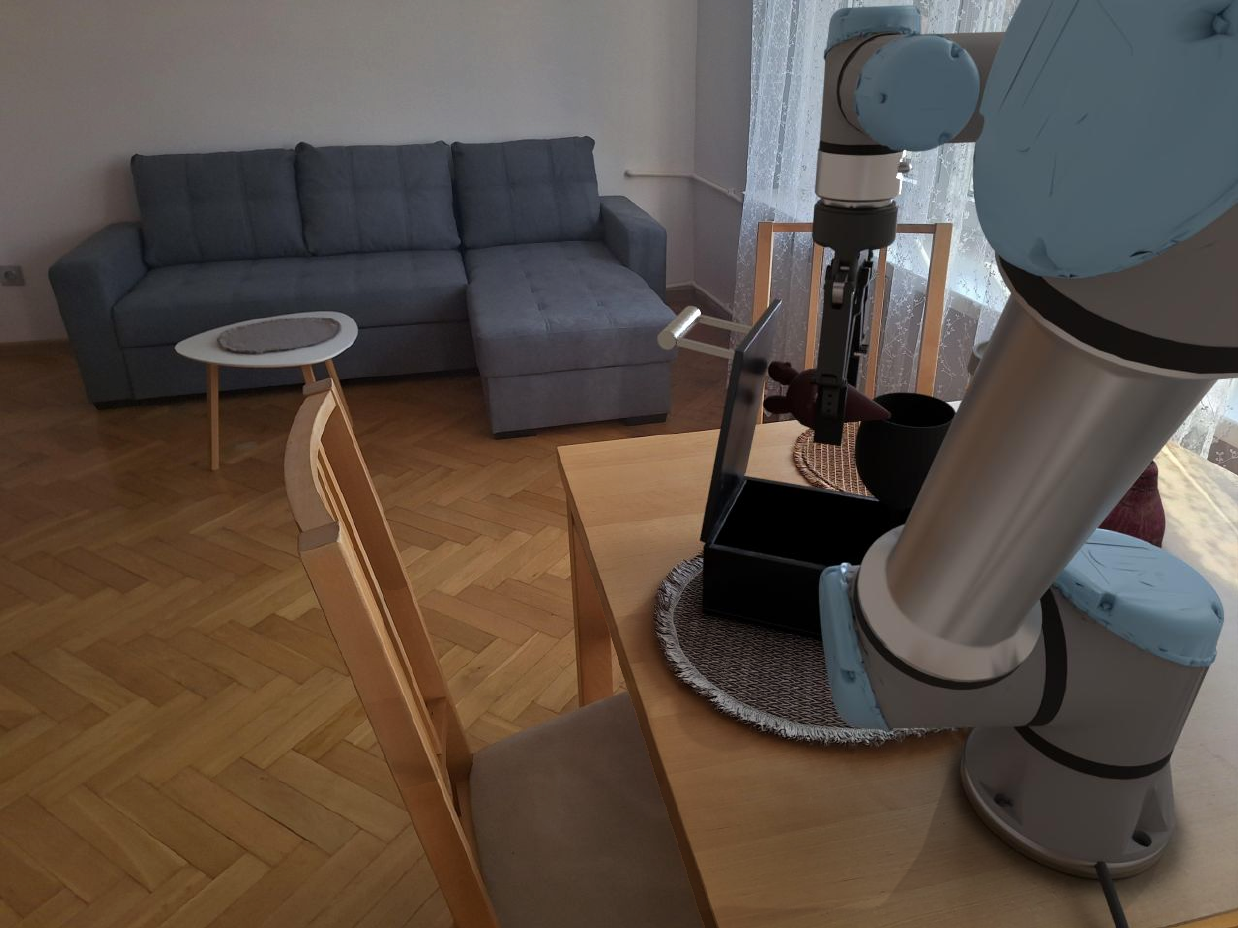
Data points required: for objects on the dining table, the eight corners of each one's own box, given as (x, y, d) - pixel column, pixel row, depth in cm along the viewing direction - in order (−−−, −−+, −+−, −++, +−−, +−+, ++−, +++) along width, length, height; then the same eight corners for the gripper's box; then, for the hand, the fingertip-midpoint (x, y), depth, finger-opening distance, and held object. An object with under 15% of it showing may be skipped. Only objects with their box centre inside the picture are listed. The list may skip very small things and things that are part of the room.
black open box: (914, 570, 95) (926, 505, 91) (900, 658, 82) (912, 587, 78) (739, 537, 102) (742, 475, 98) (701, 613, 90) (703, 546, 85)
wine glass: (835, 584, 93) (854, 424, 83) (846, 534, 101) (864, 384, 92) (933, 602, 90) (965, 437, 80) (936, 549, 98) (965, 394, 88)
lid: (782, 300, 86) (697, 280, 89) (743, 352, 74) (646, 328, 76) (745, 472, 97) (671, 451, 100) (707, 543, 85) (623, 516, 87)
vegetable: (1158, 596, 94) (1232, 508, 84) (1063, 578, 96) (1124, 488, 85) (1137, 528, 102) (1203, 439, 91) (1049, 512, 103) (1105, 422, 93)
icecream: (915, 377, 82) (790, 352, 92) (876, 382, 77) (748, 355, 87) (903, 445, 84) (782, 413, 94) (864, 454, 79) (740, 419, 89)
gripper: (886, 225, 66) (856, 477, 77) (911, 182, 82) (883, 395, 93) (792, 220, 69) (776, 464, 79) (834, 179, 85) (816, 387, 96)
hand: (834, 426), depth 86 cm, fingers closed on icecream, 7 cm apart
